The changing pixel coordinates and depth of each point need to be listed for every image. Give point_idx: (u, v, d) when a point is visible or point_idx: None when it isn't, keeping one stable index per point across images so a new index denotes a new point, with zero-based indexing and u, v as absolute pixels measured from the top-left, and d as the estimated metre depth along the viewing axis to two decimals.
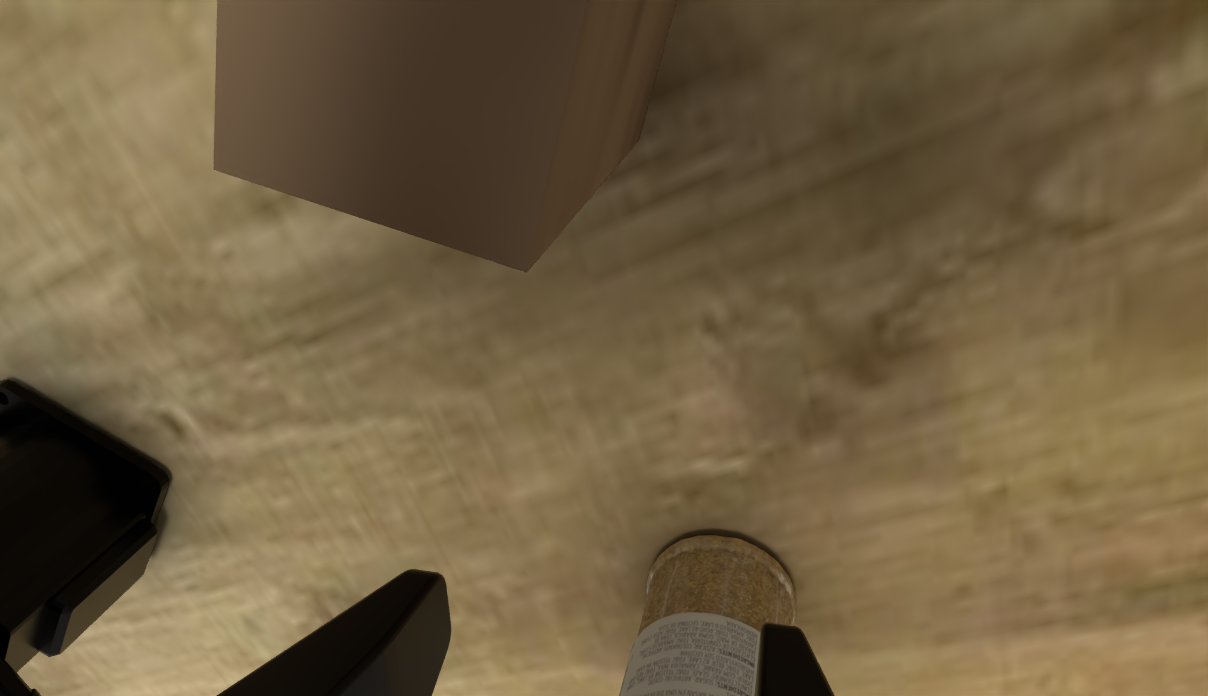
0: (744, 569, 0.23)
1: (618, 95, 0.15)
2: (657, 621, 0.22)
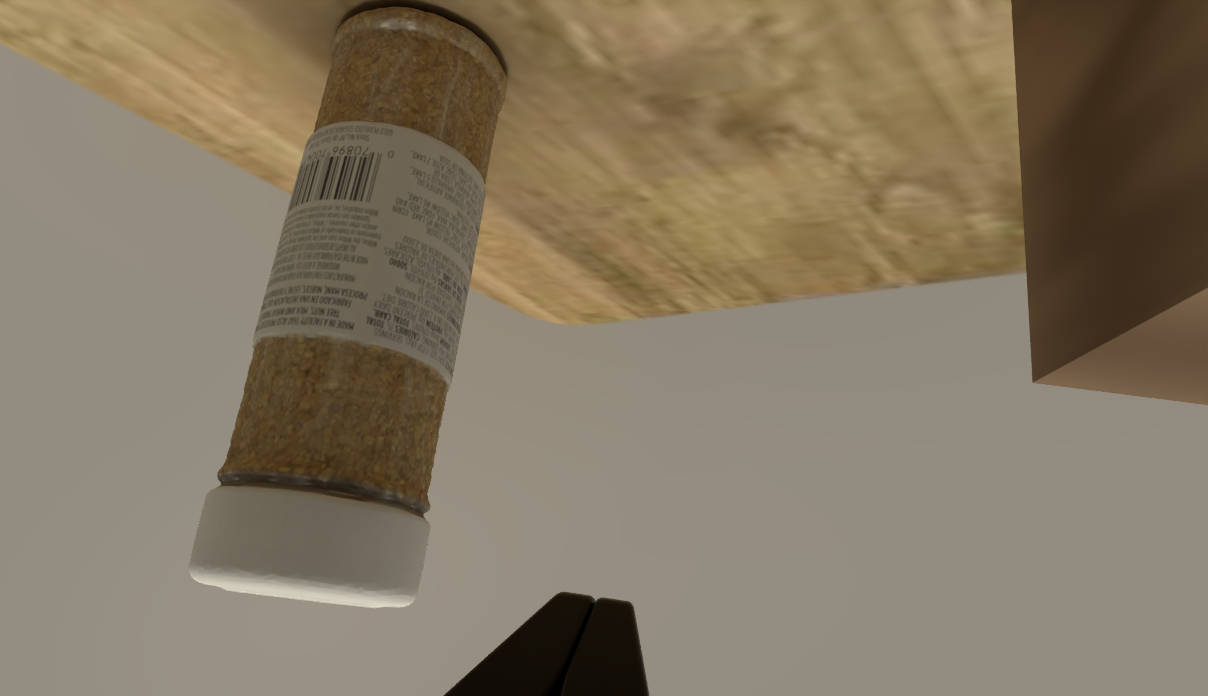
0: (496, 118, 0.21)
1: None
2: (437, 141, 0.19)
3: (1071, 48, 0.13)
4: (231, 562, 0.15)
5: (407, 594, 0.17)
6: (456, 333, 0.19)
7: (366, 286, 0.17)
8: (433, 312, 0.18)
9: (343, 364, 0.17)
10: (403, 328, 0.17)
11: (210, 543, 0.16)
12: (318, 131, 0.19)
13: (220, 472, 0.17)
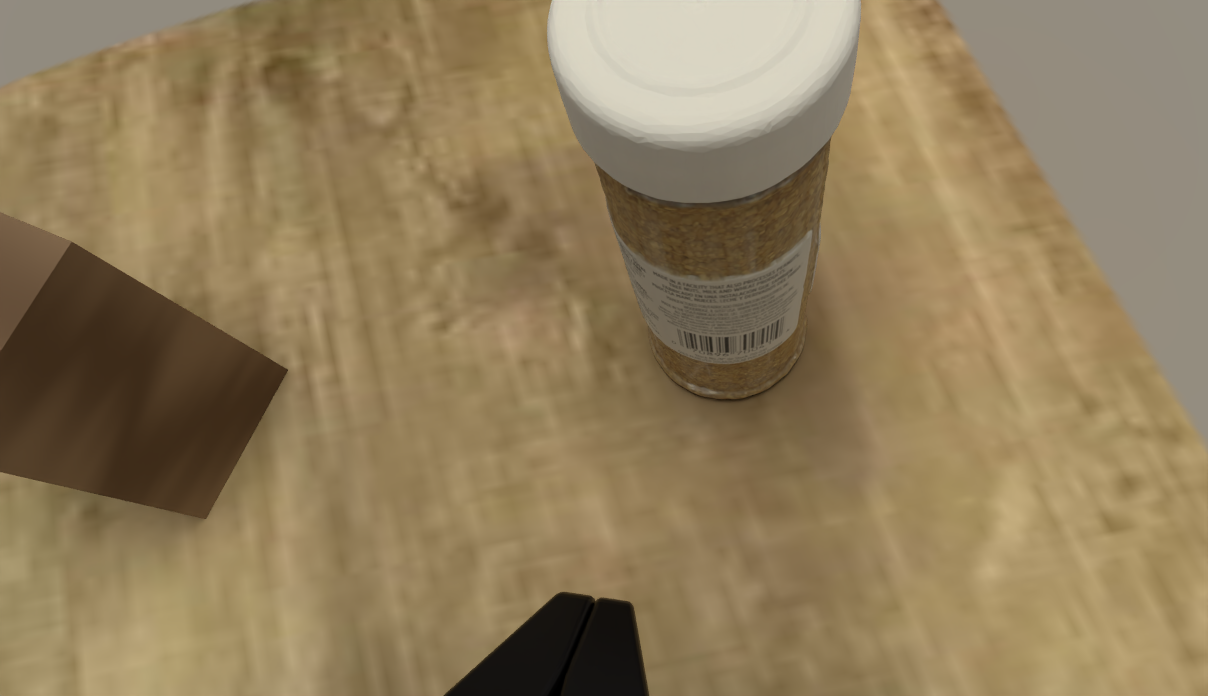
0: None
1: None
2: (649, 327, 0.21)
3: (180, 380, 0.22)
4: (698, 154, 0.11)
5: (550, 8, 0.13)
6: None
7: (655, 288, 0.17)
8: None
9: (652, 253, 0.16)
10: (621, 246, 0.17)
11: (749, 156, 0.12)
12: (758, 356, 0.20)
13: (783, 186, 0.13)
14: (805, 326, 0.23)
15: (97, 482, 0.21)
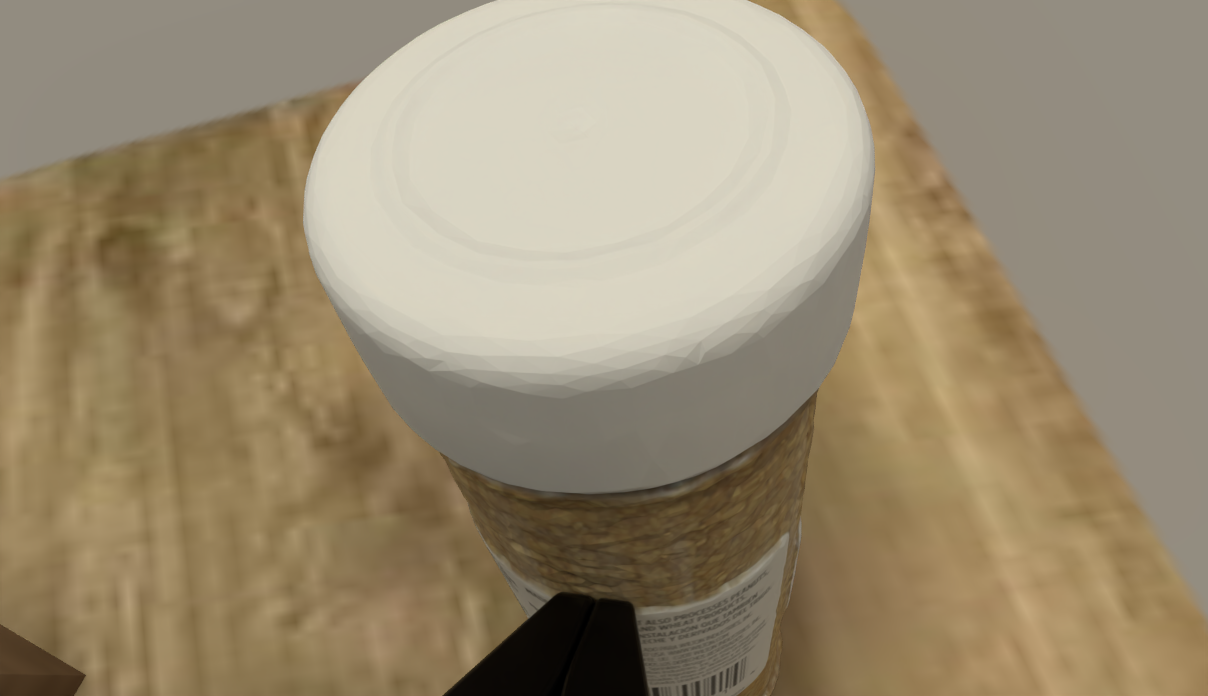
0: None
1: None
2: None
3: None
4: (551, 400, 0.05)
5: None
6: None
7: (535, 611, 0.11)
8: None
9: (518, 560, 0.09)
10: None
11: (662, 411, 0.06)
12: None
13: (734, 468, 0.07)
14: (779, 648, 0.16)
15: None
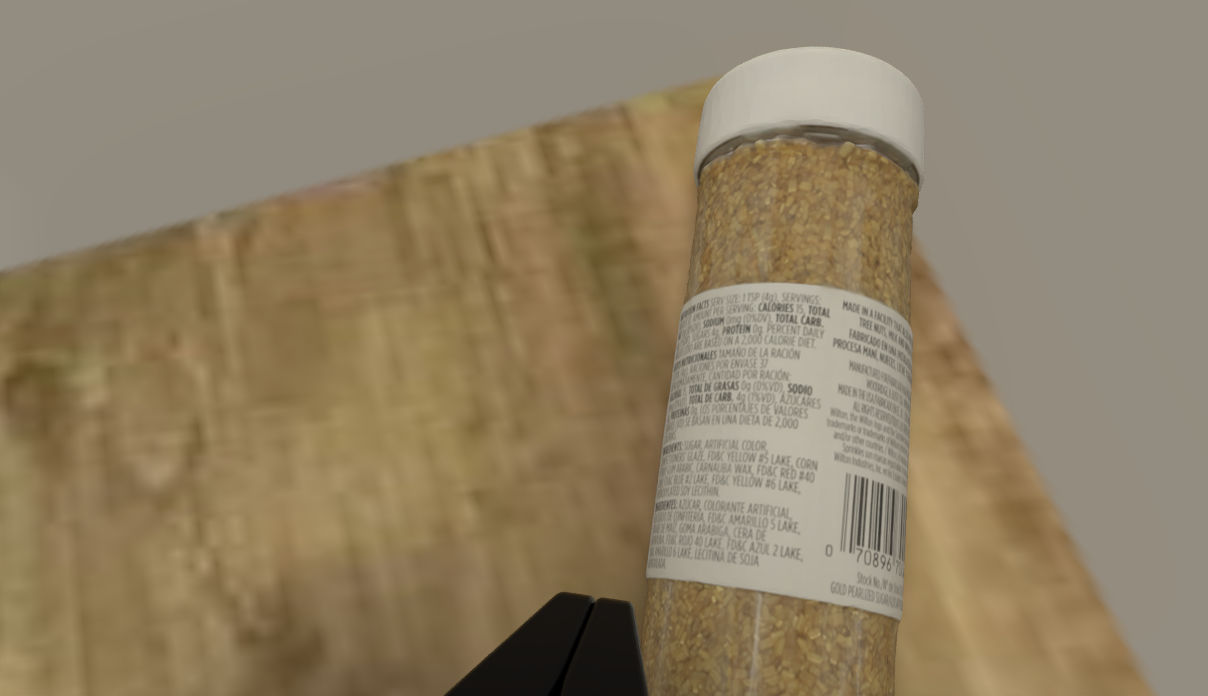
0: None
1: None
2: (764, 586, 0.13)
3: None
4: (910, 89, 0.16)
5: (732, 71, 0.16)
6: (692, 351, 0.15)
7: (835, 355, 0.14)
8: (740, 345, 0.14)
9: (845, 263, 0.14)
10: (782, 309, 0.14)
11: (922, 122, 0.16)
12: (901, 614, 0.14)
13: (917, 201, 0.16)
14: None
15: None
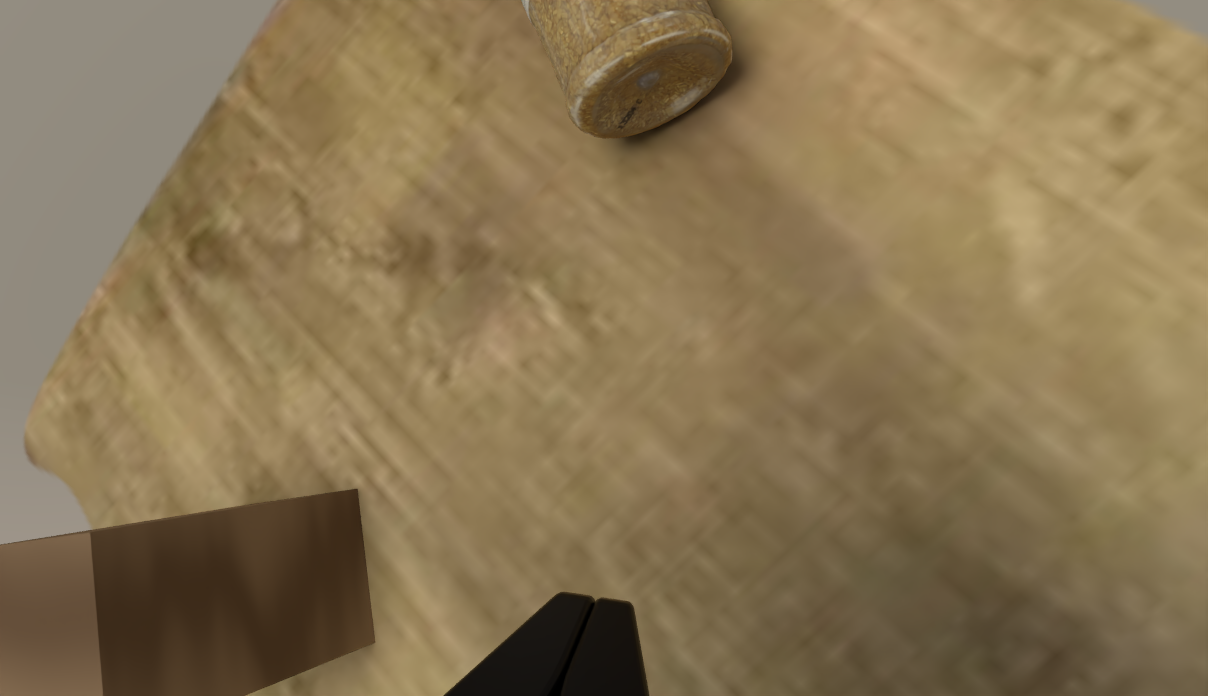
0: (559, 79, 0.21)
1: (194, 514, 0.24)
2: None
3: (268, 561, 0.24)
4: None
5: None
6: None
7: None
8: None
9: None
10: None
11: None
12: None
13: None
14: None
15: (258, 679, 0.23)
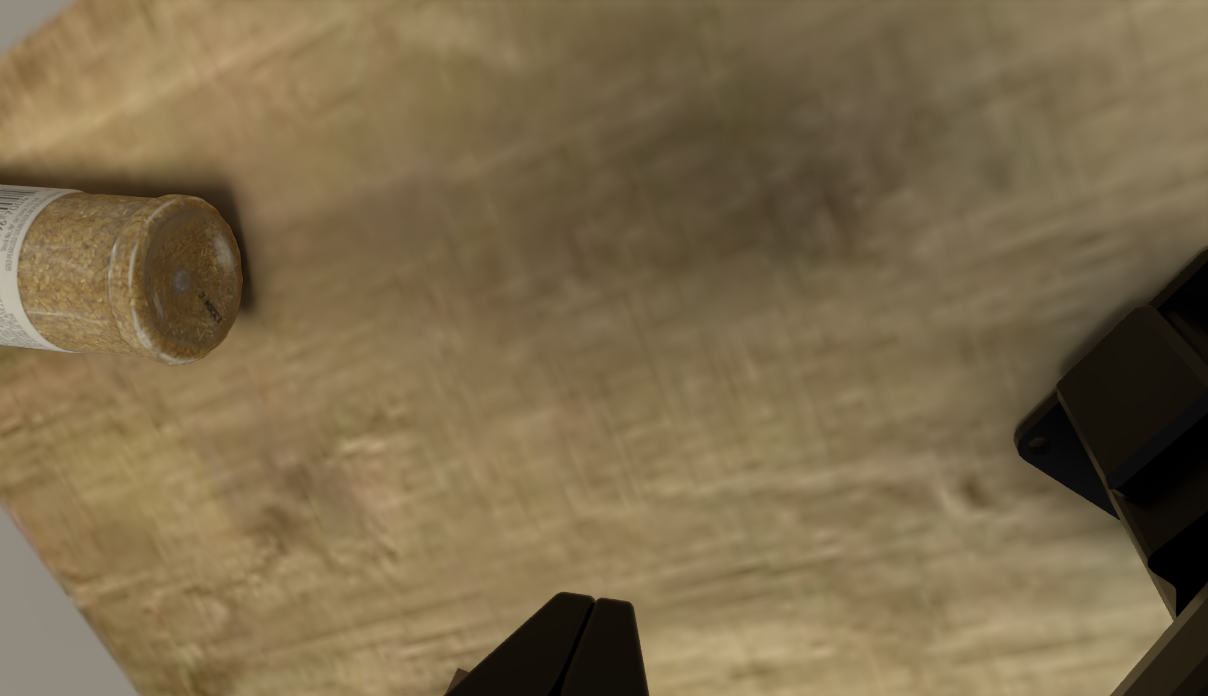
0: None
1: None
2: (20, 310, 0.21)
3: None
4: None
5: None
6: None
7: None
8: None
9: None
10: None
11: None
12: (44, 202, 0.21)
13: None
14: None
15: None
